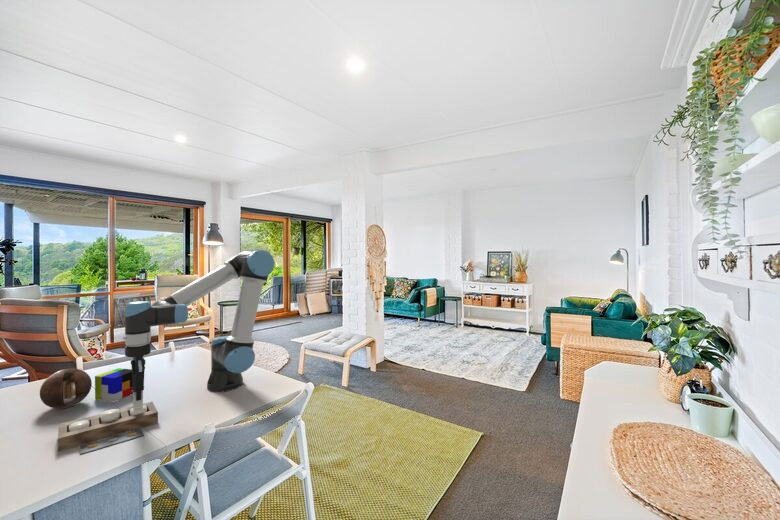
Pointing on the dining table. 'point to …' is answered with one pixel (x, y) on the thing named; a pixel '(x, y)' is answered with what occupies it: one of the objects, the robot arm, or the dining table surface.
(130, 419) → the button board
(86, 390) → the wooden sphere
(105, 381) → the puzzle toy
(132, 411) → the right button
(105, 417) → the middle button
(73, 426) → the left button
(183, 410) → the dining table surface
